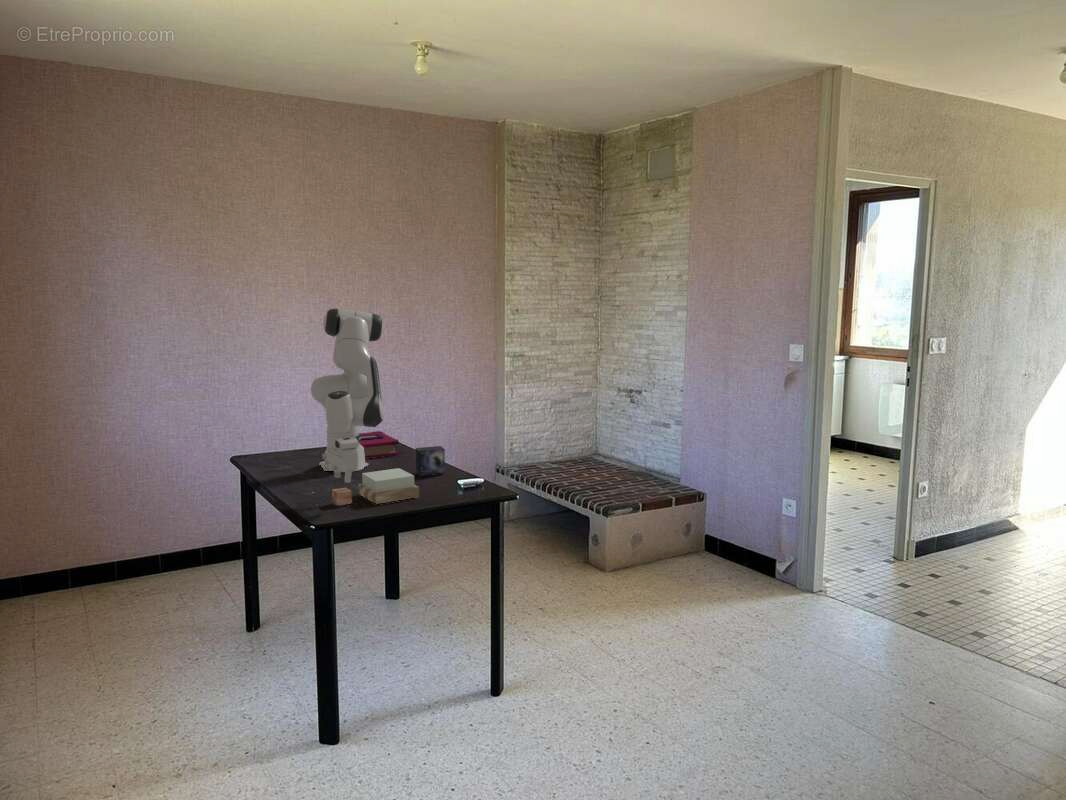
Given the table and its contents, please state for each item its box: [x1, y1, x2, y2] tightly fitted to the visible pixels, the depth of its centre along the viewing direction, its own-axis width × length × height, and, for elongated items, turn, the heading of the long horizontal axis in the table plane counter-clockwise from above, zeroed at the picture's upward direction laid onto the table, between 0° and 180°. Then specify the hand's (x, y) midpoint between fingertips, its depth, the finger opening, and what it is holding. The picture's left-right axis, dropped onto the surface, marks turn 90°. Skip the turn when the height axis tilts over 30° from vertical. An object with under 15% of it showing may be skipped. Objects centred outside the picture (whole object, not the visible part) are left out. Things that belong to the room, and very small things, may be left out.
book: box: [359, 430, 400, 458], centre depth 345 cm, size 21×28×8 cm
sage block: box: [361, 467, 416, 493], centre depth 270 cm, size 14×14×4 cm
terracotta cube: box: [331, 487, 353, 506], centre depth 261 cm, size 5×5×5 cm
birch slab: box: [358, 483, 420, 505], centre depth 270 cm, size 16×16×4 cm
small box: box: [415, 445, 446, 477], centre depth 303 cm, size 11×6×10 cm, turn 112°
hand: (342, 479), depth 260 cm, fingers open, 8 cm apart
